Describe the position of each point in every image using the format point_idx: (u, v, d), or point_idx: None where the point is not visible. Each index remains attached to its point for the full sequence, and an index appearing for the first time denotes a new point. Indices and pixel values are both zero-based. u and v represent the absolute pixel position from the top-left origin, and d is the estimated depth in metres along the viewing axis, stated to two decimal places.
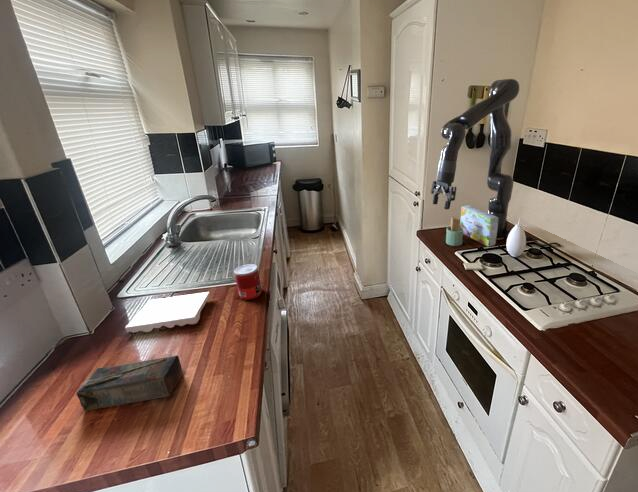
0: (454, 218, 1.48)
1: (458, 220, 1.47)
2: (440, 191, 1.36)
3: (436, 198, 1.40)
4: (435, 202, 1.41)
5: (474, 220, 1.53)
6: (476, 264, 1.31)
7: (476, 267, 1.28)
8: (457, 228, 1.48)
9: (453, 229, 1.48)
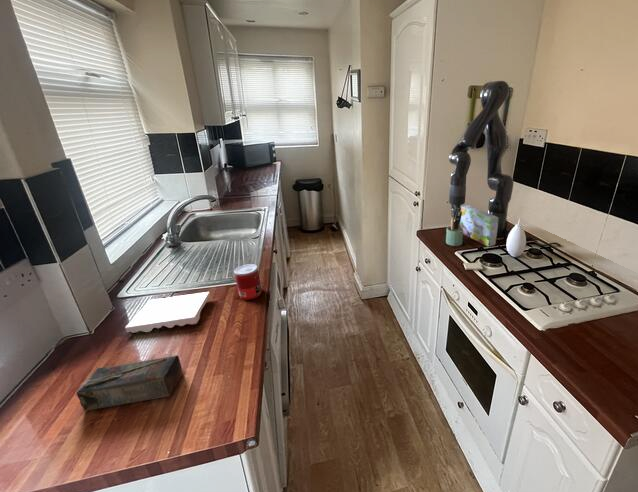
0: None
1: None
2: None
3: None
4: None
5: (474, 220, 1.53)
6: (476, 264, 1.31)
7: (476, 267, 1.28)
8: None
9: (453, 229, 1.48)
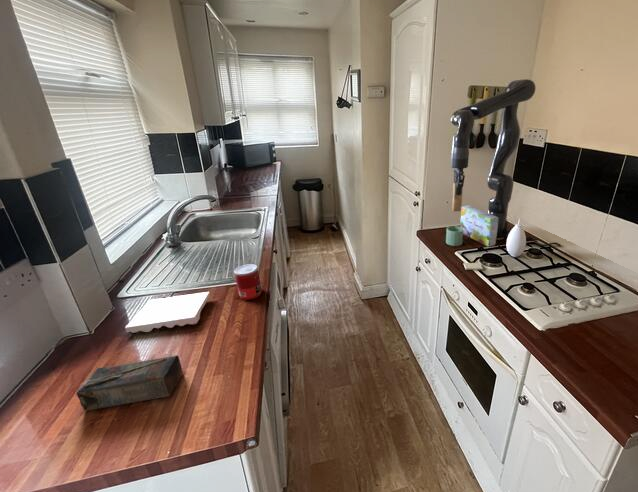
0: None
1: None
2: None
3: None
4: None
5: (474, 220, 1.53)
6: (476, 264, 1.31)
7: (476, 267, 1.28)
8: None
9: (455, 195, 1.42)
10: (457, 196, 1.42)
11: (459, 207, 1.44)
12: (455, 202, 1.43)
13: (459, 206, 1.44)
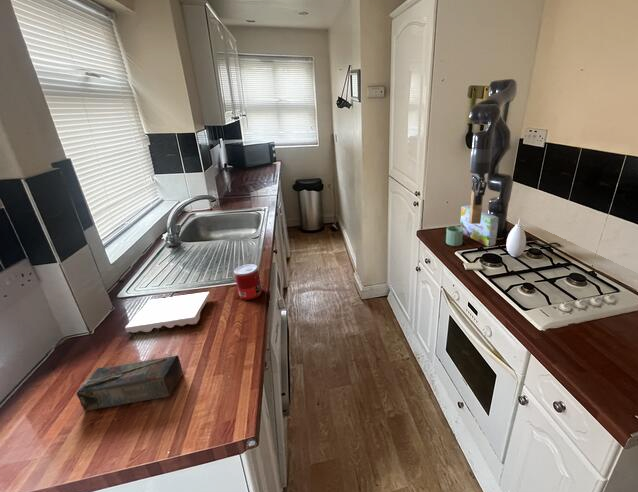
0: None
1: None
2: (475, 183, 1.20)
3: None
4: None
5: None
6: (476, 264, 1.31)
7: (476, 267, 1.28)
8: None
9: (474, 205, 1.21)
10: (476, 206, 1.21)
11: (478, 219, 1.23)
12: (474, 213, 1.22)
13: (478, 218, 1.23)
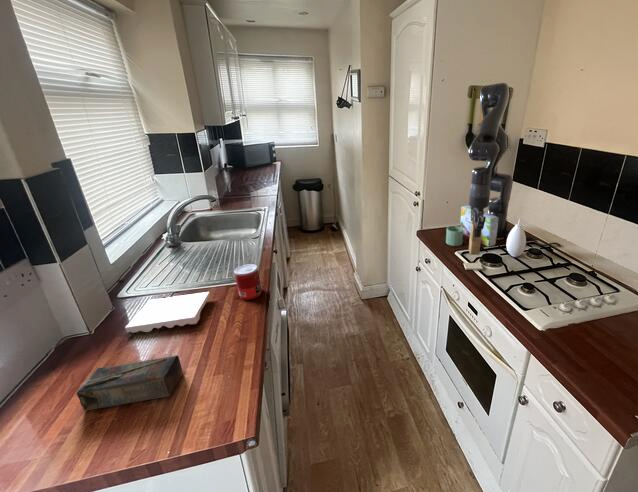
0: None
1: None
2: (474, 216, 1.23)
3: None
4: None
5: None
6: (476, 264, 1.31)
7: (476, 267, 1.28)
8: None
9: (473, 237, 1.24)
10: (475, 238, 1.24)
11: (477, 250, 1.25)
12: (473, 245, 1.25)
13: (477, 249, 1.25)
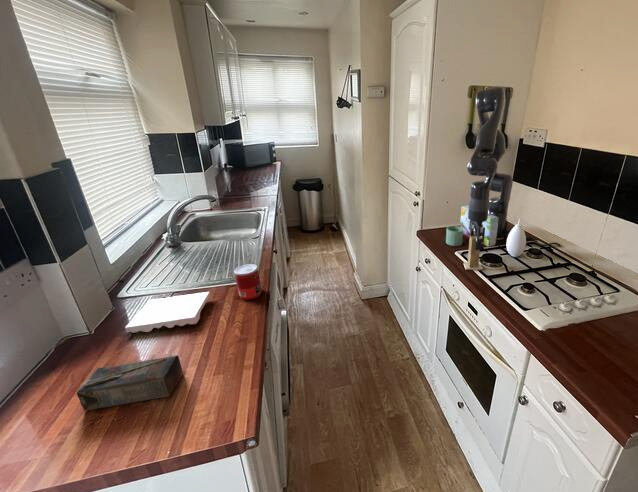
0: (473, 238, 1.25)
1: None
2: None
3: (473, 235, 1.29)
4: None
5: None
6: None
7: None
8: None
9: (472, 251, 1.26)
10: (474, 252, 1.26)
11: (476, 263, 1.27)
12: (472, 258, 1.27)
13: (476, 262, 1.27)
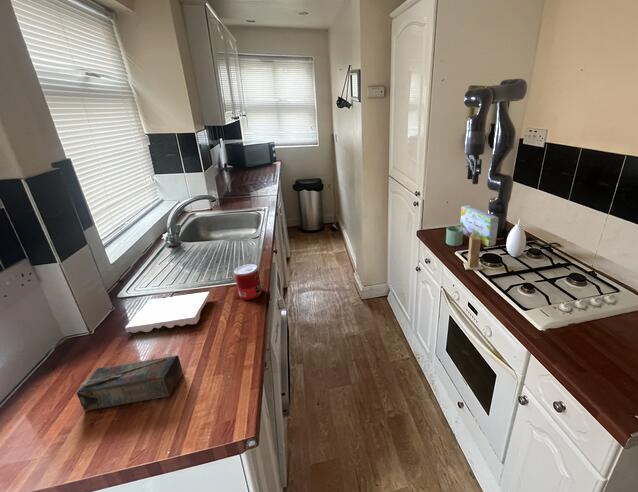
0: (473, 238, 1.25)
1: (478, 240, 1.24)
2: (470, 165, 1.26)
3: (470, 172, 1.31)
4: (469, 177, 1.32)
5: (474, 220, 1.53)
6: None
7: None
8: (477, 249, 1.25)
9: (472, 251, 1.26)
10: (474, 252, 1.26)
11: (476, 263, 1.27)
12: (472, 258, 1.27)
13: (476, 262, 1.27)
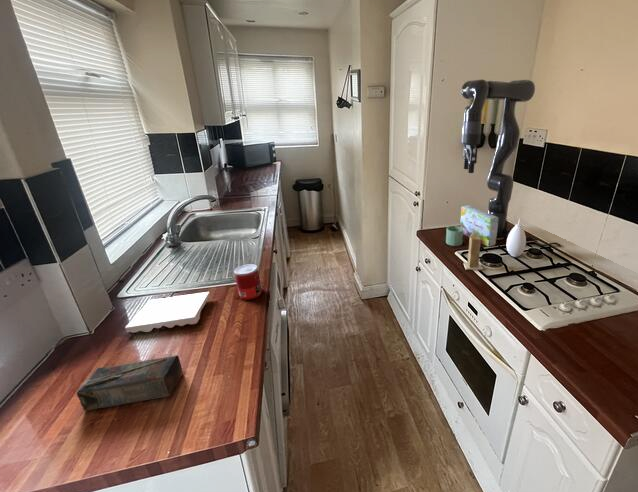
0: (473, 238, 1.25)
1: (478, 240, 1.24)
2: (466, 154, 1.31)
3: (467, 163, 1.35)
4: (466, 167, 1.36)
5: (474, 220, 1.53)
6: None
7: None
8: (477, 249, 1.25)
9: (472, 251, 1.26)
10: (474, 252, 1.26)
11: (476, 263, 1.27)
12: (472, 258, 1.27)
13: (476, 262, 1.27)
